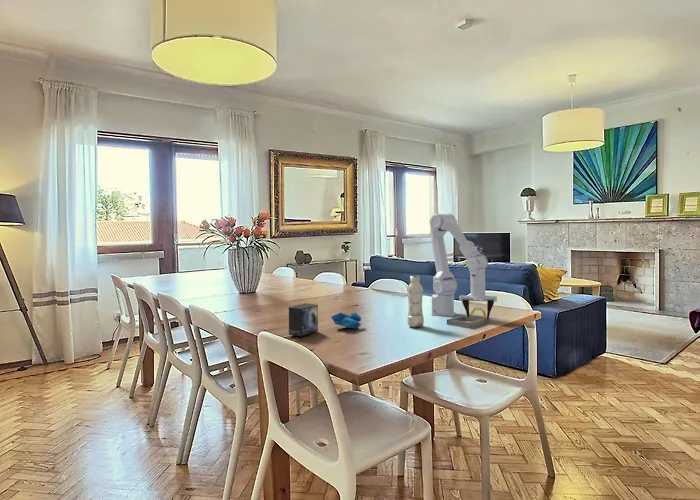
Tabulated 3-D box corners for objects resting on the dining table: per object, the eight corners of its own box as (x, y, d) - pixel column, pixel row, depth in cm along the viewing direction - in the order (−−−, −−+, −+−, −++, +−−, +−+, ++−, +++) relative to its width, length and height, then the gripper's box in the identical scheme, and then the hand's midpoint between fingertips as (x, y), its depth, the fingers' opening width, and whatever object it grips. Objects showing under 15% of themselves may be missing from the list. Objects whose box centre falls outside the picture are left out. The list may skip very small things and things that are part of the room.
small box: (301, 337, 158) (301, 308, 157) (288, 335, 161) (287, 306, 161) (319, 331, 167) (318, 303, 166) (305, 329, 170) (305, 302, 170)
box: (470, 329, 164) (470, 323, 164) (446, 325, 172) (446, 319, 172) (485, 325, 171) (485, 319, 171) (462, 321, 179) (462, 315, 179)
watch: (483, 321, 179) (483, 307, 179) (486, 322, 176) (486, 308, 176) (469, 322, 178) (469, 307, 178) (472, 323, 175) (472, 308, 175)
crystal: (361, 310, 175) (334, 303, 171) (366, 320, 167) (338, 313, 163) (354, 326, 177) (327, 319, 173) (359, 337, 169) (331, 330, 165)
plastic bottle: (425, 325, 172) (424, 275, 172) (422, 329, 166) (421, 277, 165) (409, 325, 174) (408, 275, 174) (405, 328, 168) (404, 276, 167)
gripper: (458, 286, 175) (459, 319, 175) (496, 286, 171) (497, 321, 171) (459, 284, 182) (460, 316, 182) (496, 284, 177) (496, 318, 178)
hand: (478, 318), depth 177 cm, fingers open, 7 cm apart
